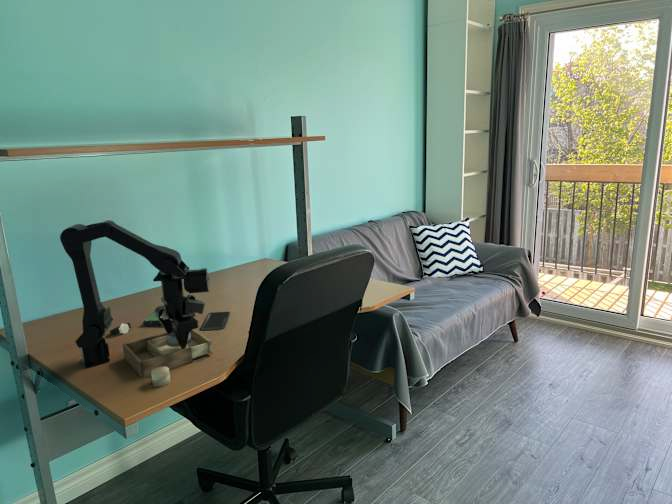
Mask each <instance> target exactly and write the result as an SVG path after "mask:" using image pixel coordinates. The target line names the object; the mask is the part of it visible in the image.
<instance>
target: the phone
mask: <svg viewBox="0 0 672 504" xmlns="http://www.w3.org/2000/svg"><path fill="white" fill-rule="evenodd" d="M230 317H231V311H216V312H215V311H213V312H209V313H208V314H207V315H206V317H205V318H204V321H203V322H202V324H201V326H200V331H217V330H218V331H220V330H224V329H225V328H226V325H227V324H228V321H229V319H230Z"/></svg>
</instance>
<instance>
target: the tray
mask: <svg viewBox="0 0 672 504" xmlns="http://www.w3.org/2000/svg"><path fill="white" fill-rule="evenodd" d="M190 333H191V342H190V343H188V344H187V345H186V348H188V347H191V351H192V359H196V358H198V357H202V356H205V355H208V354H209V355H212V354H213V346H212V340H210V339H209V338H208V337H206V336H205V335H203V334H202V333H200V332H199V331H197V329H193V330H191V331H190ZM147 346H148V351H149V352H150V353H151V354H152V355H153V356H154V357H158V356H161V355H164V354H168V353H171V352H175V351H178V350H181V347H180V346H178V347H171V346H168V345H167V344H166V336H163V337H159V338H156V339H152V340H148V341H147Z"/></svg>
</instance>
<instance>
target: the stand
mask: <svg viewBox="0 0 672 504" xmlns="http://www.w3.org/2000/svg"><path fill="white" fill-rule="evenodd" d="M151 383H152V386H153V387H156V388H161V387H165V386H168V385H169V384H170V383H171V374H170V370H169V368H168V367H164V366H162V367H157V368H154V369H153V370H152V371H151Z"/></svg>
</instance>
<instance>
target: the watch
mask: <svg viewBox="0 0 672 504" xmlns="http://www.w3.org/2000/svg"><path fill="white" fill-rule="evenodd" d="M131 328H132V325H131V323H130V322H127V323H126V322H125V323H123V322H122V323H121V324H120V325H119V326H116V327H114V328H112V329H110V330H109V333H110V336H112V337H113V336H116V335H119V334H123V335H125V334H127V333H128V332H129V330H130V329H131Z"/></svg>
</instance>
